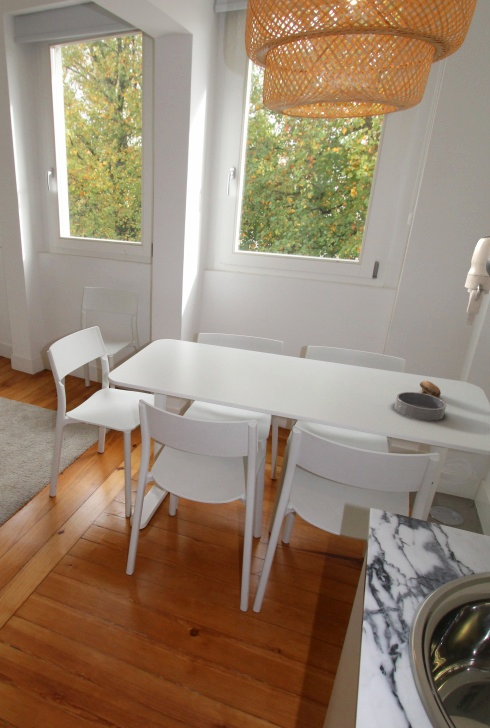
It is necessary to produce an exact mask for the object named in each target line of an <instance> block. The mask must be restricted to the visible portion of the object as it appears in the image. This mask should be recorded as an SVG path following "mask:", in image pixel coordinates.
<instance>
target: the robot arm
mask: <svg viewBox="0 0 490 728" xmlns="http://www.w3.org/2000/svg"><path fill="white" fill-rule="evenodd" d="M470 260H471V262H470V263H471V265H470V268H469V270H468V272H467V275H466V279H465V283H464V288H466V289H467V293H469V299H468V303H467V308H466V314H468V315H467V319H466V325H468V326H472V325H473V324H474V320H475V318H476V315H479V313H480V311H481V307H482V304H483V300H484V298H485V295H486V296H487V295H489V294H490V235H487V236H483V237H481V238H480V239H479V240H478V242H477V243H476V245H475V248H474V250H473V253H472V257H471V259H470Z"/></svg>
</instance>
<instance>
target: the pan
mask: <svg viewBox="0 0 490 728" xmlns="http://www.w3.org/2000/svg"><path fill="white" fill-rule="evenodd" d="M446 408H447V403H446V401H444V400H443V399H441V398H440V397H438V398H436V397H434V396H431V395H427V394H423V393H420V392H415V391H404V392H400V393H398V394H397V395H396V398H395V402H394V410H396V412H398V413H400V414H402V415H403V416H407V417H410V418H413V419H417V420H421V421H422V420H423V421H439V420H442V419H443V418H444V415H445V412H446Z"/></svg>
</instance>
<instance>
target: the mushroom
mask: <svg viewBox="0 0 490 728" xmlns="http://www.w3.org/2000/svg"><path fill="white" fill-rule="evenodd" d="M419 387H420V388H421V390H420V391H419V393H423V394H427V395H431V396H434V397H436V398H440V396H441V389H440V388H439V386H438V385H436V384H434V383H433V382H432V381H429V380H422V381H421V382H420V383H419Z"/></svg>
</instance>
